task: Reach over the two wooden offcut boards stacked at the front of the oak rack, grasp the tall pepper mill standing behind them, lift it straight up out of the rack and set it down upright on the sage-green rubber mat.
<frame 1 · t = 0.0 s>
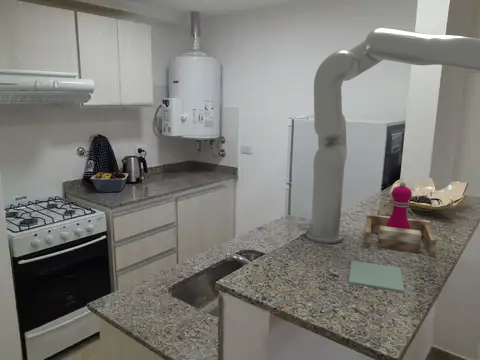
walnut offcut: (397, 247, 117), on the worktop, touching birch offcut
oak rack: (396, 241, 121), on the worktop
green mat: (375, 276, 98), on the worktop
birch offcut: (398, 239, 117), point 3 cm above the worktop, touching walnut offcut
pepper mill: (396, 240, 123), on the worktop
clay tablet: (397, 218, 148), on the worktop
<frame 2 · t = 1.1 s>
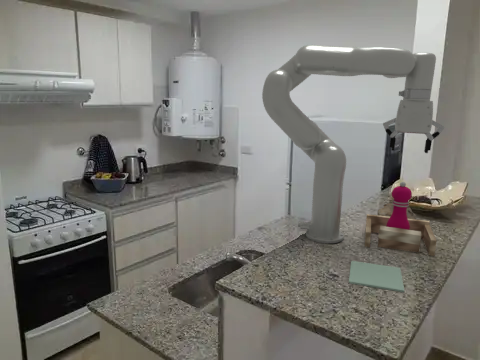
hand: (409, 151, 116), 30 cm above the worktop, tool pointing down, fingers open, 9 cm apart
nothing on the worktop moved.
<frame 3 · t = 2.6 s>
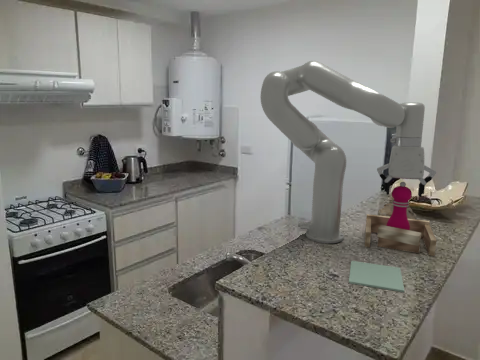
hand: (403, 194, 120), 16 cm above the worktop, tool pointing down, fingers open, 9 cm apart
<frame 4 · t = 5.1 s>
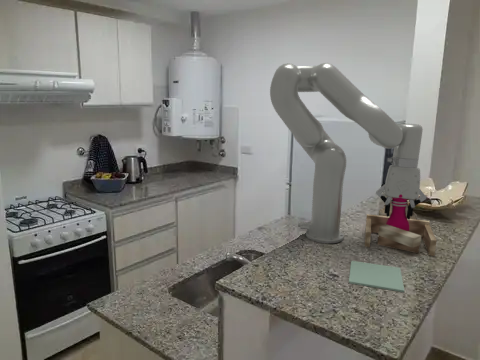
hand: (397, 216, 122), 8 cm above the worktop, tool pointing down, fingers open, 5 cm apart
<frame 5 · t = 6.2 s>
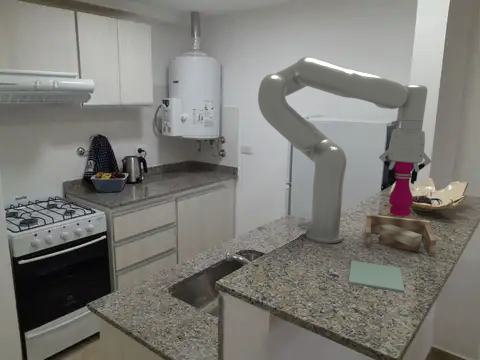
hand: (401, 181, 119), 20 cm above the worktop, tool pointing down, fingers closed on pepper mill, 5 cm apart
walnut offcut: (398, 246, 119), on the worktop, touching birch offcut
birch offcut: (399, 239, 117), point 2 cm above the worktop, touching walnut offcut
pepper mill: (400, 213, 121), point 9 cm above the worktop, touching gripper
everything else where it was.
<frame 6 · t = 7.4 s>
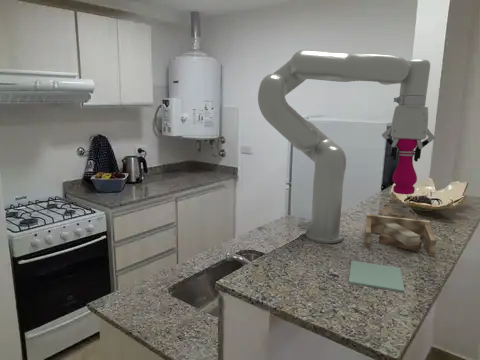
hand: (404, 159, 117), 27 cm above the worktop, tool pointing down, fingers closed on pepper mill, 5 cm apart
pepper mill: (403, 192, 119), point 16 cm above the worktop, touching gripper
when the fingers open (11 cm above the worktop, at t = 12.2 s): pepper mill stays where it is, resting on green mat.
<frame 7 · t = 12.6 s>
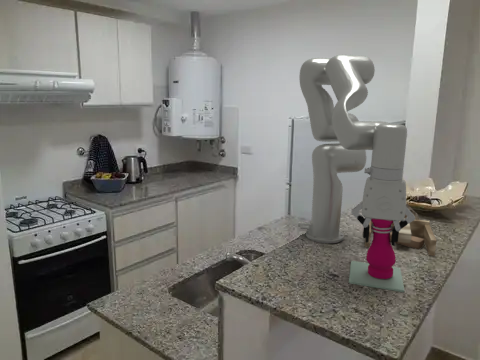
hand: (379, 241, 95), 10 cm above the worktop, tool pointing down, fingers open, 5 cm apart
walnut offcut: (401, 244, 121), on the worktop
birch offcut: (402, 235, 120), point 2 cm above the worktop
pepper mill: (380, 274, 98), point 1 cm above the worktop, touching green mat, gripper
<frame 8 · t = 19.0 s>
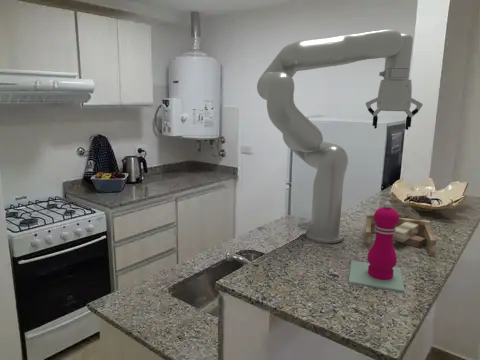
hand: (390, 128, 122), 36 cm above the worktop, tool pointing down, fingers open, 9 cm apart
walnut offcut: (403, 242, 122), on the worktop, touching birch offcut
birch offcut: (404, 235, 120), point 2 cm above the worktop, touching walnut offcut
pepper mill: (380, 275, 98), resting on green mat
at the end: pepper mill inside the target area (1.3 cm from its centre), resting on green mat; pepper mill tilted 0°; the gripper is holding nothing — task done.
